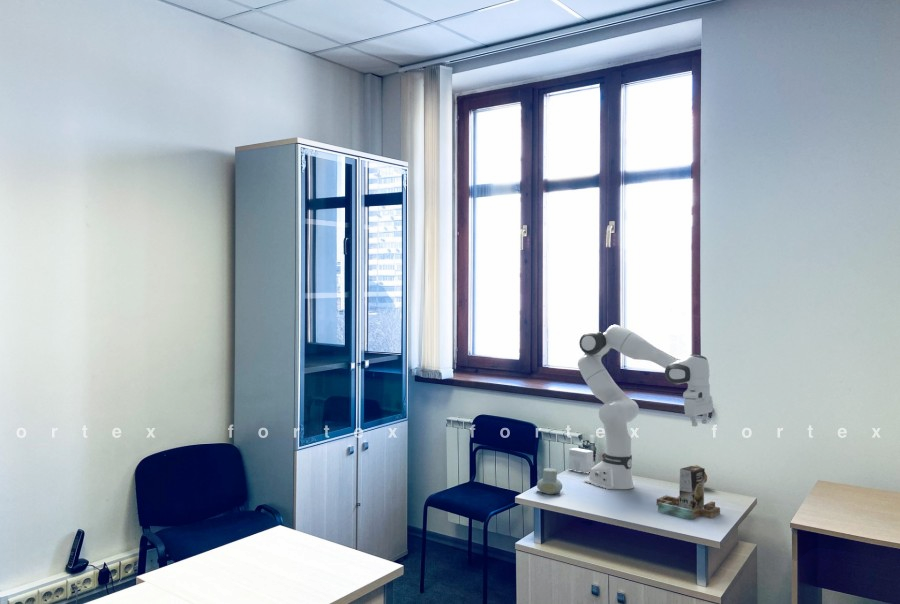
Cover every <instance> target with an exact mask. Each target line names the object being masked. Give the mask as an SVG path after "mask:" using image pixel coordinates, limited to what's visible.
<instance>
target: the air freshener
mask: <svg viewBox="0 0 900 604" xmlns="http://www.w3.org/2000/svg"><path fill="white" fill-rule="evenodd" d="M542 469H543V470H542V478H540V479H539V480H538V481H537V482H536V487H537V489H538V491H540V492H541V493H543V494H545V493H546V495H556V494H558V493H560V491H562V489H563V483H562V482H561V481H560V480H559V479H558V475H557V472H558V470H557V469H556V468H551V467H545V468H542Z"/></svg>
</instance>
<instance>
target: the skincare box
mask: <svg viewBox="0 0 900 604" xmlns="http://www.w3.org/2000/svg"><path fill="white" fill-rule="evenodd" d="M592 467H594V451H593V450H591V449H584V448H579V447H574V448H573V447H572V448H569V449H568V471H570V470H569V469H572V470H576V471H581V472H585V473H586V472H589V471H590V470H591V468H592ZM576 471H575V472H576Z"/></svg>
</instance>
